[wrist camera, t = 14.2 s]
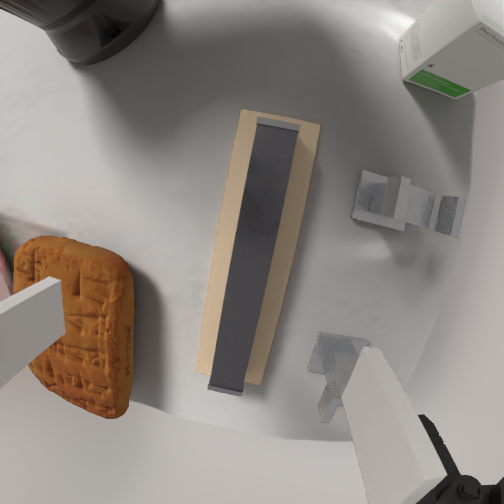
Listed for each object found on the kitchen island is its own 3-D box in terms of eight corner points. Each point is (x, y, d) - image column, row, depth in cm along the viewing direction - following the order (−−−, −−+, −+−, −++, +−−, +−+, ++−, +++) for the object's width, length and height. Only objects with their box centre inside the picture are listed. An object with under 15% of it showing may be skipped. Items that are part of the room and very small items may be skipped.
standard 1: (319, 331, 31) (336, 389, 21) (367, 339, 31) (398, 393, 21) (307, 367, 32) (317, 429, 22) (353, 372, 32) (375, 431, 22)
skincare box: (399, 80, 24) (476, 21, 9) (396, 36, 23) (457, -33, 8) (457, 101, 24) (543, 69, 9) (452, 58, 23) (525, 13, 7)
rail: (259, 127, 26) (257, 116, 22) (296, 134, 26) (300, 124, 22) (214, 368, 32) (207, 389, 28) (244, 374, 32) (241, 396, 28)
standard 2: (360, 170, 27) (404, 161, 17) (410, 185, 27) (467, 187, 17) (350, 217, 28) (390, 232, 18) (401, 230, 28) (454, 251, 18)
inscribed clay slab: (142, 398, 35) (120, 434, 27) (51, 357, 36) (22, 382, 28) (152, 251, 30) (117, 271, 23) (44, 221, 31) (2, 231, 23)
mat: (241, 110, 27) (241, 108, 26) (319, 125, 26) (320, 124, 26) (196, 369, 33) (195, 371, 33) (260, 383, 33) (260, 385, 32)
